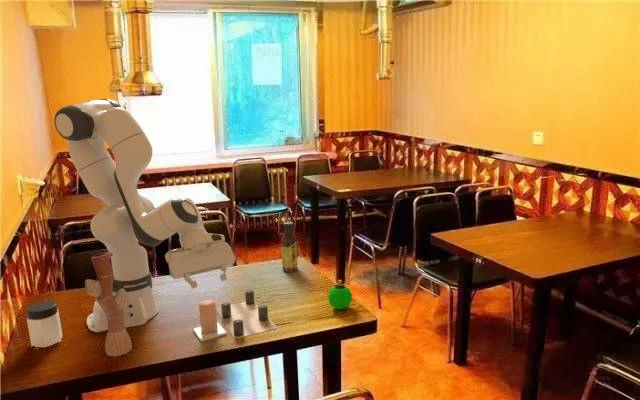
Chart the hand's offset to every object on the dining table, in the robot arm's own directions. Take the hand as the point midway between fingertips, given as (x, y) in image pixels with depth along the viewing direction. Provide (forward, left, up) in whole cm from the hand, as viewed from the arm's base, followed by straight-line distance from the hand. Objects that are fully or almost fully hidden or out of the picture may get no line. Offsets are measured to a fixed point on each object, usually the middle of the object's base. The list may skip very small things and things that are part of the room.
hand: (209, 283), depth 155 cm
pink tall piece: (-28, +5, -16) cm, 33 cm away
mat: (-1, 0, -16) cm, 16 cm away
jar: (-45, +22, -16) cm, 53 cm away
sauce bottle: (+44, +35, -16) cm, 58 cm away
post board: (+12, +4, -16) cm, 20 cm away
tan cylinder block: (-1, 0, -15) cm, 15 cm away
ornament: (+42, -7, -16) cm, 45 cm away
